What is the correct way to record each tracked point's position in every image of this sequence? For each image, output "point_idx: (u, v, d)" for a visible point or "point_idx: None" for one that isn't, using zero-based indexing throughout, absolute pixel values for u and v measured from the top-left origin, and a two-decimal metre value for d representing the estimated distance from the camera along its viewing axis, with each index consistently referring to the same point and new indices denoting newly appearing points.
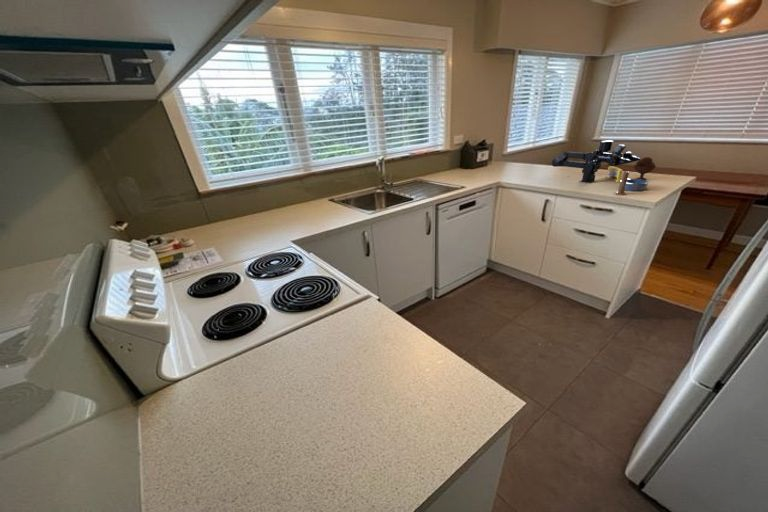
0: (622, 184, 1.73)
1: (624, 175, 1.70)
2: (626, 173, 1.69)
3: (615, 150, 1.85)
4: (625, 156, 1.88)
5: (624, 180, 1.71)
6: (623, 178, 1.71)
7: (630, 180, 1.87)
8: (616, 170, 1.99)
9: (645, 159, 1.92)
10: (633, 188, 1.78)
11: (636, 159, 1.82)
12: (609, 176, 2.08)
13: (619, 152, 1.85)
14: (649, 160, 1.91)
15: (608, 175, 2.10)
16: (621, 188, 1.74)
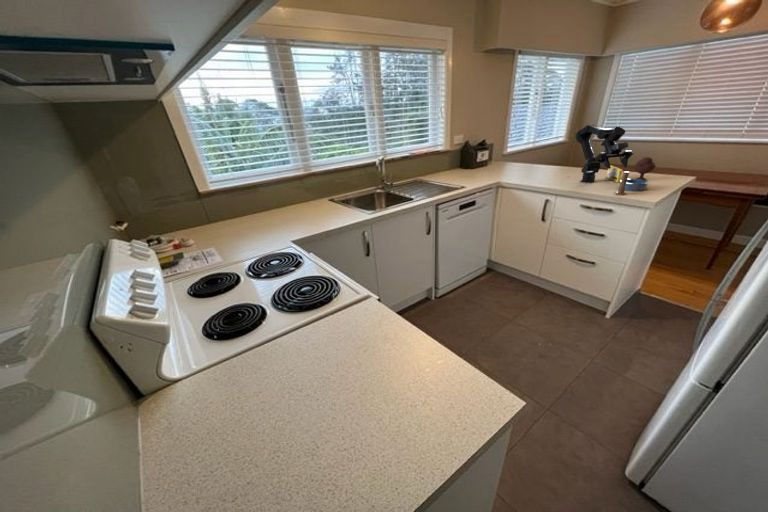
0: (622, 184, 1.73)
1: (624, 175, 1.70)
2: (626, 173, 1.69)
3: (613, 147, 1.76)
4: (624, 153, 1.79)
5: (624, 180, 1.71)
6: (623, 178, 1.71)
7: (630, 180, 1.87)
8: (616, 170, 1.99)
9: (645, 159, 1.92)
10: (633, 188, 1.78)
11: (624, 165, 1.77)
12: (609, 176, 2.08)
13: (616, 150, 1.77)
14: (649, 160, 1.91)
15: (608, 175, 2.10)
16: (621, 188, 1.74)
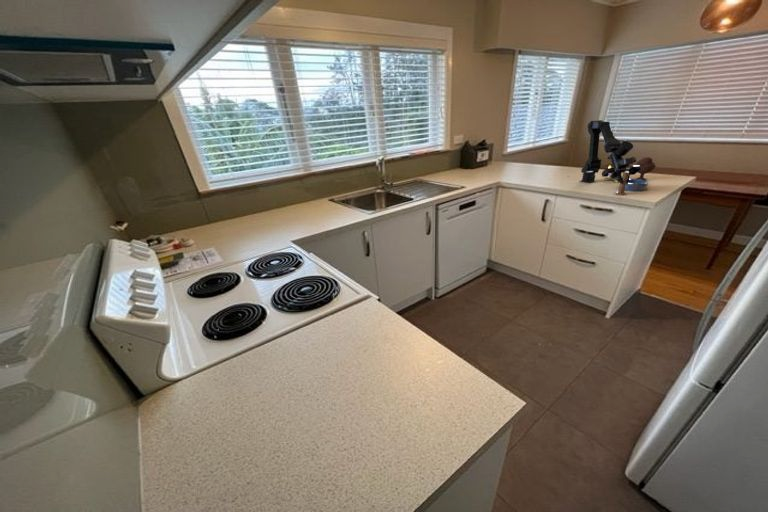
0: (622, 184, 1.73)
1: (624, 175, 1.70)
2: (626, 173, 1.69)
3: (621, 161, 1.71)
4: (632, 168, 1.73)
5: (624, 180, 1.71)
6: (623, 178, 1.71)
7: (630, 180, 1.87)
8: None
9: (645, 159, 1.92)
10: (633, 188, 1.78)
11: None
12: (609, 176, 2.08)
13: (624, 165, 1.71)
14: (649, 160, 1.91)
15: (608, 175, 2.10)
16: (621, 188, 1.74)
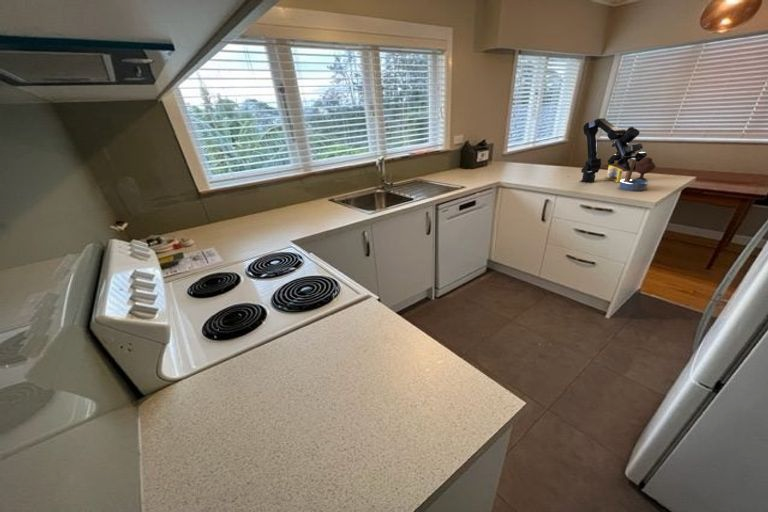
0: (629, 171, 1.70)
1: (631, 162, 1.68)
2: (633, 160, 1.67)
3: (627, 148, 1.68)
4: (637, 155, 1.72)
5: (631, 167, 1.69)
6: (630, 165, 1.69)
7: None
8: (616, 170, 1.99)
9: (645, 159, 1.92)
10: (633, 188, 1.78)
11: None
12: (609, 176, 2.08)
13: (630, 151, 1.69)
14: (649, 160, 1.91)
15: (608, 175, 2.10)
16: (628, 175, 1.71)
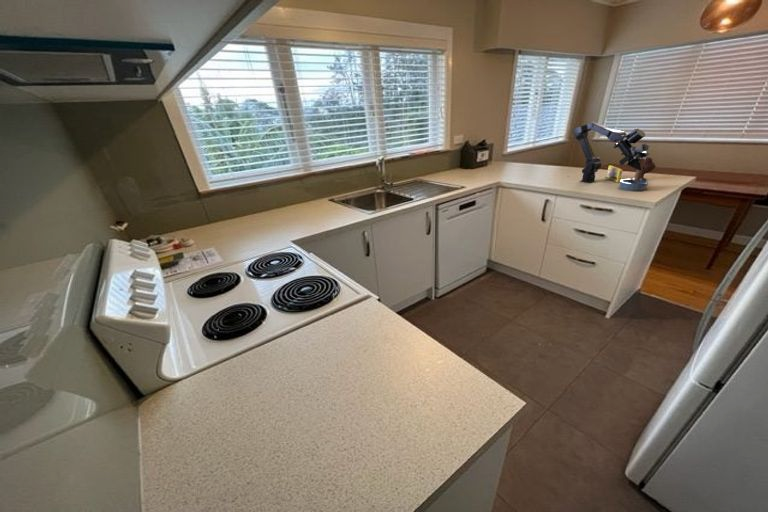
0: (640, 170, 1.77)
1: (642, 161, 1.74)
2: (644, 159, 1.74)
3: (637, 149, 1.74)
4: None
5: (642, 166, 1.75)
6: (640, 165, 1.75)
7: (630, 180, 1.87)
8: (616, 170, 1.99)
9: (645, 159, 1.92)
10: (633, 188, 1.78)
11: None
12: (609, 176, 2.08)
13: (638, 152, 1.75)
14: (649, 160, 1.91)
15: (608, 175, 2.10)
16: (638, 174, 1.78)
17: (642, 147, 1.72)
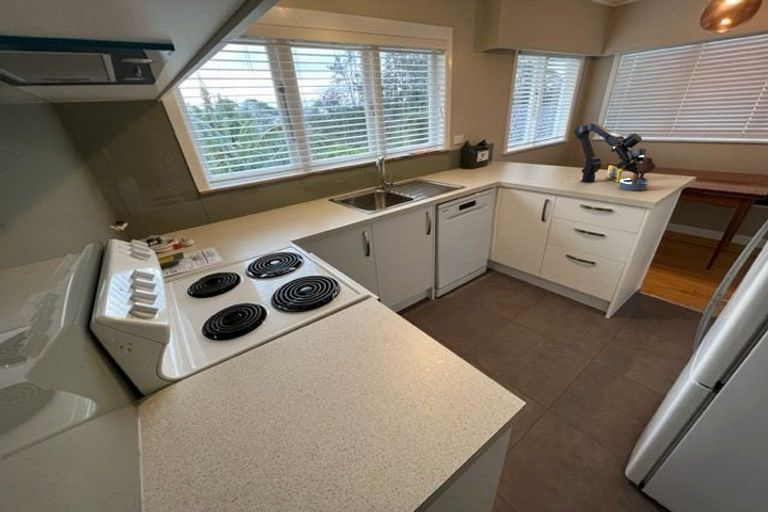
0: (637, 174, 1.77)
1: (639, 166, 1.75)
2: (641, 163, 1.74)
3: (634, 153, 1.74)
4: None
5: (639, 170, 1.76)
6: (637, 169, 1.76)
7: (630, 180, 1.87)
8: (616, 170, 1.99)
9: (645, 159, 1.92)
10: (633, 188, 1.78)
11: None
12: (609, 176, 2.08)
13: (635, 156, 1.76)
14: (649, 160, 1.91)
15: (608, 175, 2.10)
16: (636, 178, 1.78)
17: (639, 151, 1.72)
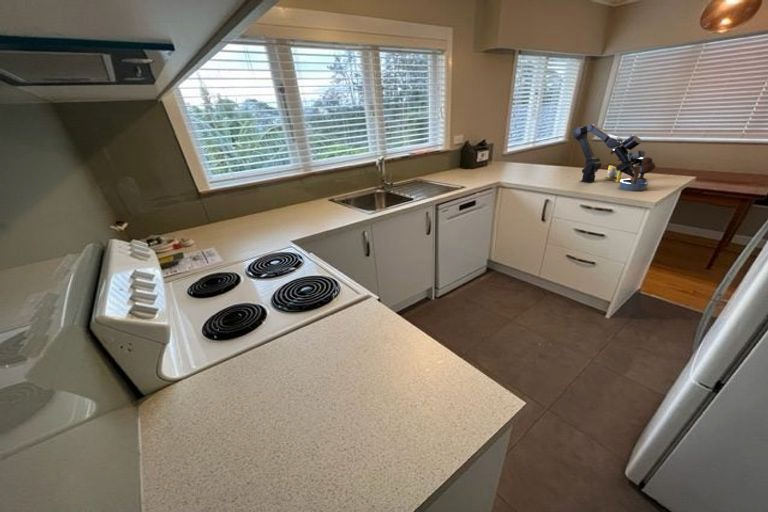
0: (635, 178, 1.80)
1: (637, 169, 1.77)
2: (639, 167, 1.77)
3: (633, 155, 1.76)
4: (637, 161, 1.83)
5: (637, 174, 1.78)
6: (636, 172, 1.78)
7: (630, 180, 1.87)
8: (616, 170, 1.99)
9: (645, 159, 1.92)
10: (633, 188, 1.78)
11: (640, 172, 1.81)
12: (609, 176, 2.08)
13: (635, 158, 1.78)
14: (649, 160, 1.91)
15: (608, 175, 2.10)
16: (634, 182, 1.81)
17: (638, 153, 1.74)
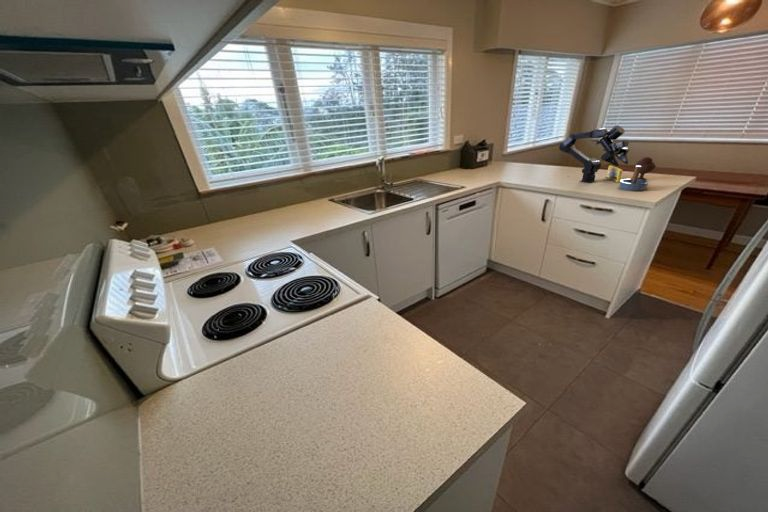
0: (635, 178, 1.80)
1: (637, 169, 1.77)
2: (639, 167, 1.77)
3: (617, 145, 1.82)
4: (621, 151, 1.88)
5: (637, 174, 1.78)
6: (636, 172, 1.78)
7: (630, 180, 1.87)
8: (616, 170, 1.99)
9: (645, 159, 1.92)
10: (633, 188, 1.78)
11: (625, 161, 1.87)
12: (609, 176, 2.08)
13: (619, 147, 1.84)
14: (649, 160, 1.91)
15: (608, 175, 2.10)
16: (634, 182, 1.81)
17: (622, 143, 1.80)
